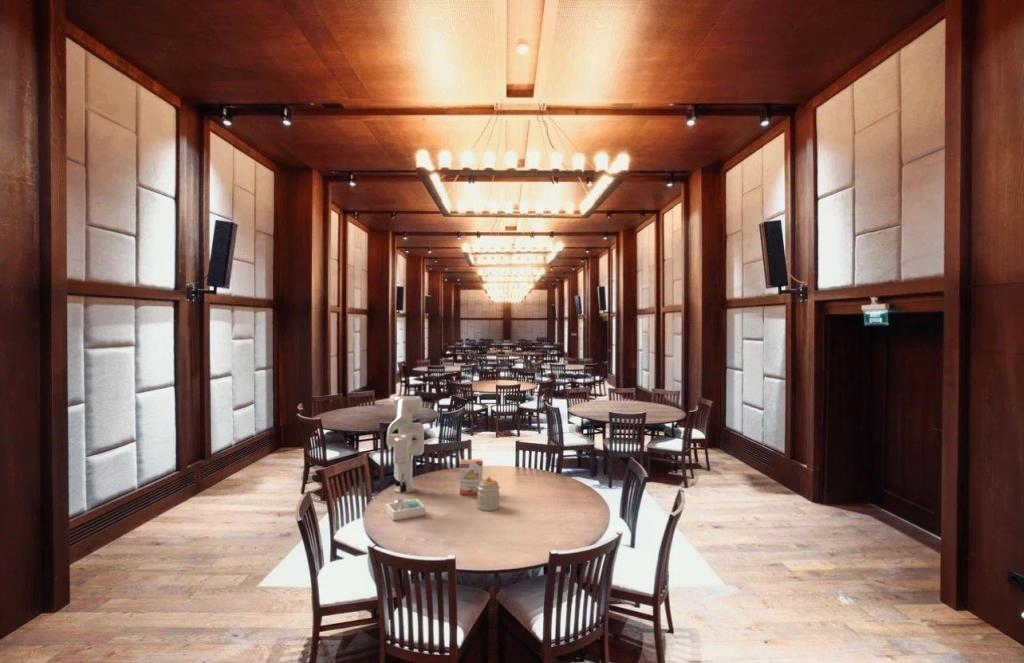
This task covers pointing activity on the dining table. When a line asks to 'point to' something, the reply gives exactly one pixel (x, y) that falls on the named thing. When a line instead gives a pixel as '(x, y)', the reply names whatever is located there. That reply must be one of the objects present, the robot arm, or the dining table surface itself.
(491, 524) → the dining table surface
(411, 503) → the teal cube
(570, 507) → the dining table surface
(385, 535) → the dining table surface
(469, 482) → the cracker box
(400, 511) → the tote
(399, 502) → the steel cylinder
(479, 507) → the jar
